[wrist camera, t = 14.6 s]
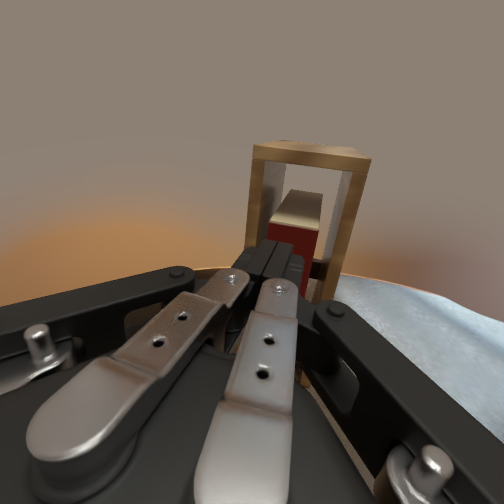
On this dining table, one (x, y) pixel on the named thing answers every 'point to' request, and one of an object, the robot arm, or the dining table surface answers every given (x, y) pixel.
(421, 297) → the dining table surface
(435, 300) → the dining table surface
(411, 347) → the dining table surface
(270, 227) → the hardcover
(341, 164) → the wooden frame
